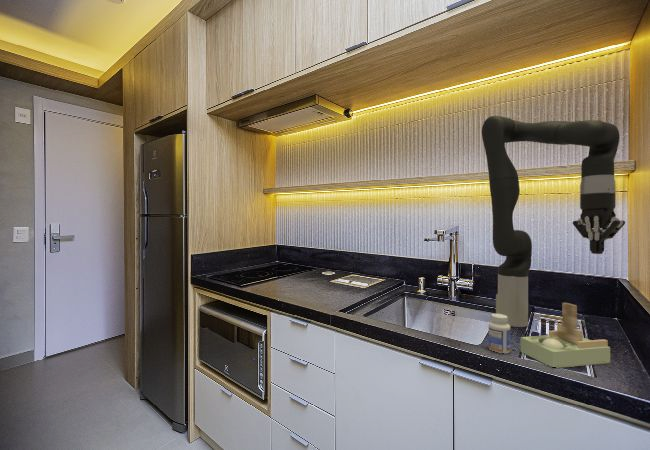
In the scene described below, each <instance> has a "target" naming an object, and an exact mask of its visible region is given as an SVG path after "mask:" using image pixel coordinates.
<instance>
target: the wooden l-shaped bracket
mask: <svg viewBox="0 0 650 450" xmlns="http://www.w3.org/2000/svg"><path fill="white" fill-rule="evenodd" d="M561 305H562V307H561V310H562V312H561V313H562V317H561V319H562V321H561V322H559V323H557V324H556V330H557V337H559V338H562V339H565V340H567V341H570V342H572V343H575V344H577V341H583V338H584V337H583V333H584V332H583V330H582V329H579V328H578V305H577V304H572V303H569V302H562V303H561Z"/></svg>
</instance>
